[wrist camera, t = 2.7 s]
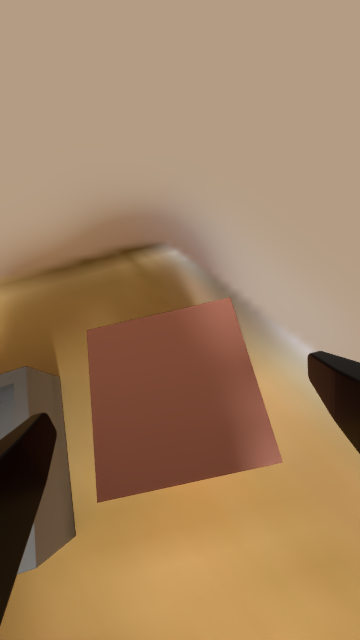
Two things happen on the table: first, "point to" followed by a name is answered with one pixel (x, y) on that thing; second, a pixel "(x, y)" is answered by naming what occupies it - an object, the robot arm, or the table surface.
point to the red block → (175, 401)
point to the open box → (56, 504)
